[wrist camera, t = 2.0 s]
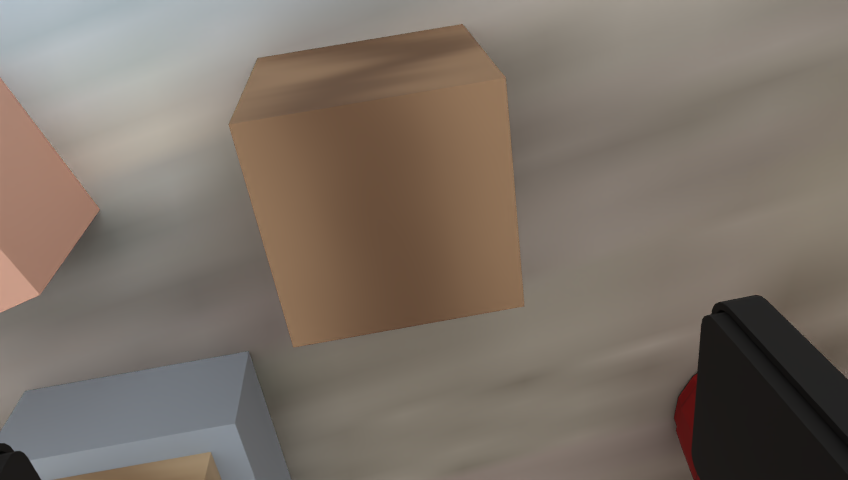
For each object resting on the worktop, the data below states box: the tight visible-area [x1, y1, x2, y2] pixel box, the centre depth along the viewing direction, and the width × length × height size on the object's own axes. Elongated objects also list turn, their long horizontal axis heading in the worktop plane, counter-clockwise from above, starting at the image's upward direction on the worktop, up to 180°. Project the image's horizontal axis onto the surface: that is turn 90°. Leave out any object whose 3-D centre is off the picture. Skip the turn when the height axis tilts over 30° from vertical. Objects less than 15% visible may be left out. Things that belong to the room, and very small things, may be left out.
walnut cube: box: [229, 24, 524, 347], centre depth 19 cm, size 6×6×6 cm
